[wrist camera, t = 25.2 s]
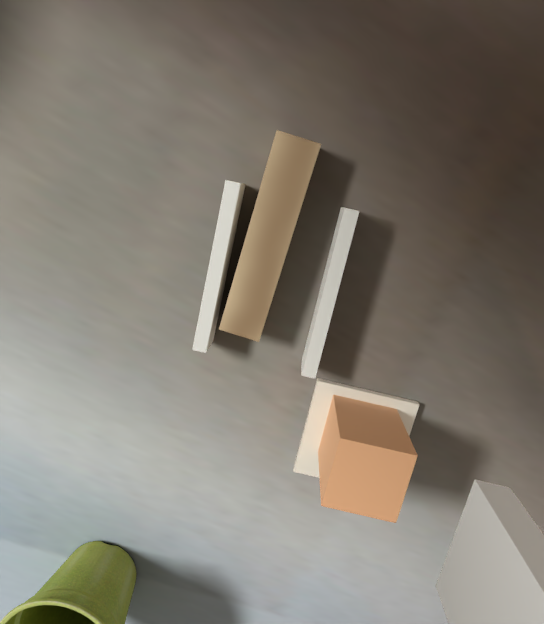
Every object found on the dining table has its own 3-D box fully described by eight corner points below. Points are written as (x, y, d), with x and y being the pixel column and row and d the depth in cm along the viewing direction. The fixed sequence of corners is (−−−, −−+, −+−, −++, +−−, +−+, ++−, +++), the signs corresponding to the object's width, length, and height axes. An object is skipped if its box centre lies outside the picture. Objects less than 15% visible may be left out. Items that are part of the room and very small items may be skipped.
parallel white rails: (200, 337, 38) (192, 349, 35) (232, 181, 35) (225, 179, 32) (314, 364, 38) (315, 378, 35) (354, 209, 35) (359, 211, 32)
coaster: (293, 467, 40) (293, 471, 39) (317, 377, 38) (317, 380, 38) (389, 490, 40) (390, 494, 39) (417, 401, 38) (419, 404, 37)
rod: (225, 319, 38) (218, 329, 35) (278, 135, 35) (276, 129, 32) (262, 330, 38) (258, 342, 35) (319, 148, 35) (321, 144, 32)
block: (317, 451, 39) (321, 505, 32) (333, 394, 38) (340, 438, 31) (379, 465, 39) (395, 522, 32) (396, 408, 38) (417, 455, 31)
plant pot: (30, 551, 43) (-36, 637, 35) (113, 504, 42) (66, 582, 33) (92, 628, 45) (44, 727, 37) (176, 585, 43) (145, 679, 35)
